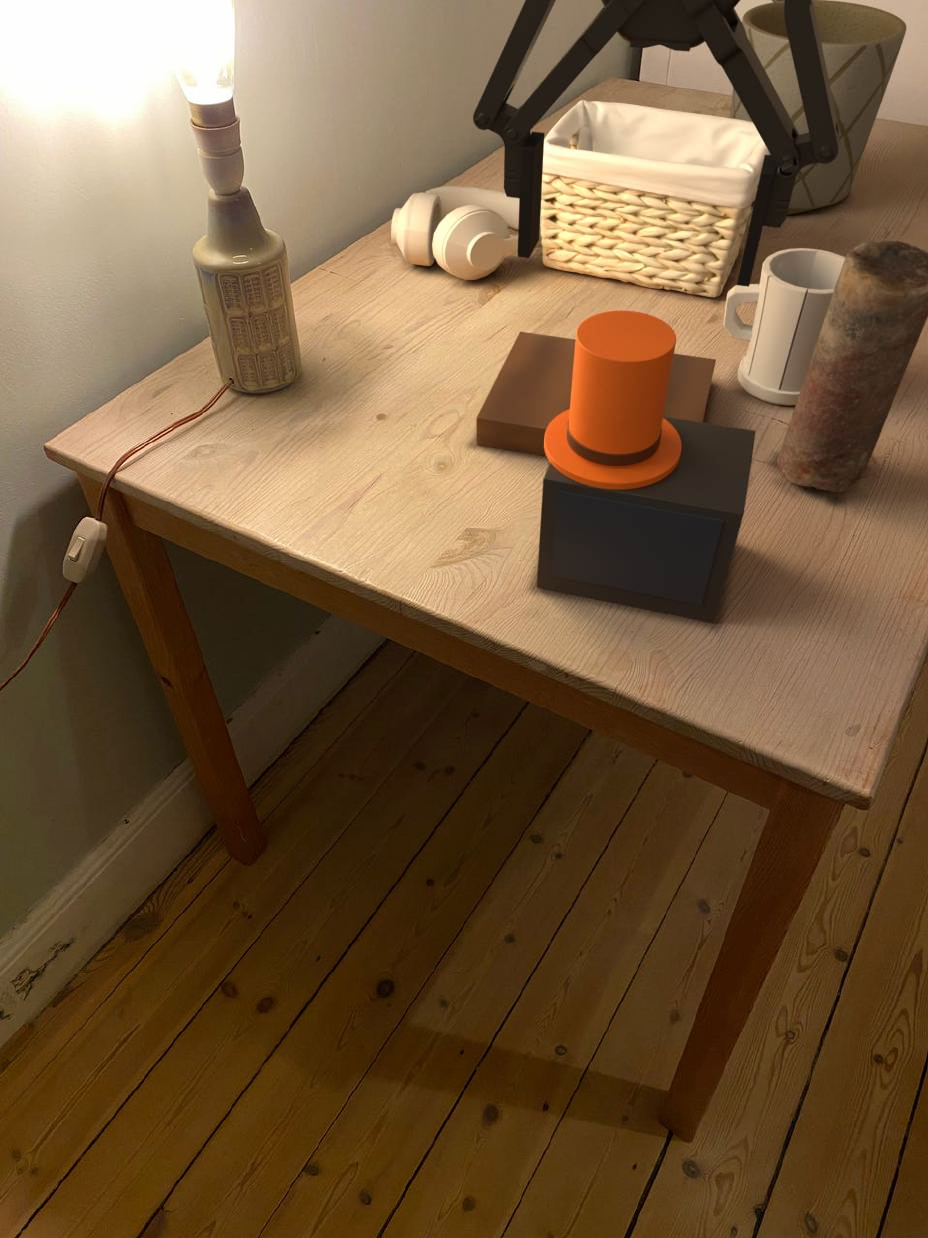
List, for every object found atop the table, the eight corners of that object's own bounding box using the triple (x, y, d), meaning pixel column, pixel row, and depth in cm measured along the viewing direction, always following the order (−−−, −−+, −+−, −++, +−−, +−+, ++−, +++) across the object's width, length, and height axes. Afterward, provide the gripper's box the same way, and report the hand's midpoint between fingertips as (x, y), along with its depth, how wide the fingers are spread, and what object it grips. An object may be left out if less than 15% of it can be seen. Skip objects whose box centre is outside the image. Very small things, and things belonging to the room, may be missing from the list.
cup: (746, 417, 88) (776, 301, 80) (705, 368, 94) (728, 255, 86) (843, 399, 90) (882, 284, 81) (796, 352, 96) (828, 240, 87)
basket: (754, 248, 113) (783, 119, 102) (728, 310, 102) (757, 174, 92) (569, 219, 119) (578, 94, 108) (527, 274, 109) (532, 143, 98)
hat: (688, 419, 69) (710, 308, 63) (669, 500, 63) (692, 386, 56) (560, 399, 72) (568, 289, 65) (529, 476, 65) (534, 362, 58)
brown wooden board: (710, 385, 92) (716, 359, 90) (689, 480, 82) (695, 453, 80) (519, 356, 96) (520, 331, 94) (476, 444, 86) (476, 417, 84)
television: (727, 539, 76) (755, 430, 68) (713, 625, 70) (743, 515, 62) (563, 509, 79) (573, 401, 71) (535, 589, 73) (542, 479, 65)
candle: (868, 462, 83) (951, 248, 69) (856, 510, 79) (942, 291, 64) (784, 442, 85) (847, 230, 71) (767, 487, 81) (830, 271, 66)
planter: (683, 183, 126) (709, 15, 112) (780, 152, 133) (817, -9, 119) (786, 232, 116) (831, 54, 101) (886, 196, 123) (941, 24, 108)
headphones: (489, 300, 103) (569, 255, 117) (495, 228, 98) (578, 190, 112) (359, 261, 110) (449, 223, 123) (358, 192, 105) (452, 160, 118)
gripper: (980, -194, 41) (842, 259, 57) (455, -206, 46) (461, 213, 62) (994, -170, 36) (839, 318, 52) (406, -186, 42) (426, 263, 57)
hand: (633, 262), depth 57 cm, fingers open, 13 cm apart
